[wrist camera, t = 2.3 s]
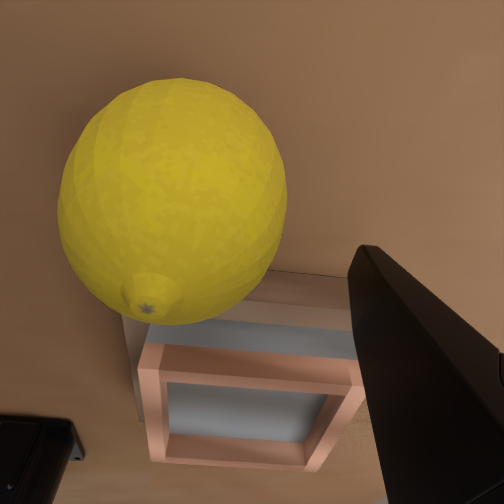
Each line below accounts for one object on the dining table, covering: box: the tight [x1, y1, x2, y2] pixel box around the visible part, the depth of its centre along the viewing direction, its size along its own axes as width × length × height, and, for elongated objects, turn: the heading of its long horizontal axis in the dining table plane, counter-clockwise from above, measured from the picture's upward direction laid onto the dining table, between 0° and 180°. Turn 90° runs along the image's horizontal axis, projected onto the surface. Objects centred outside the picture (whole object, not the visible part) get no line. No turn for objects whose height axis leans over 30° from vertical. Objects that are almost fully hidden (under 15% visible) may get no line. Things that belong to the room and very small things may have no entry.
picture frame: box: [121, 270, 366, 472], centre depth 19 cm, size 12×12×5 cm
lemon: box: [57, 78, 287, 325], centre depth 10 cm, size 6×6×8 cm
